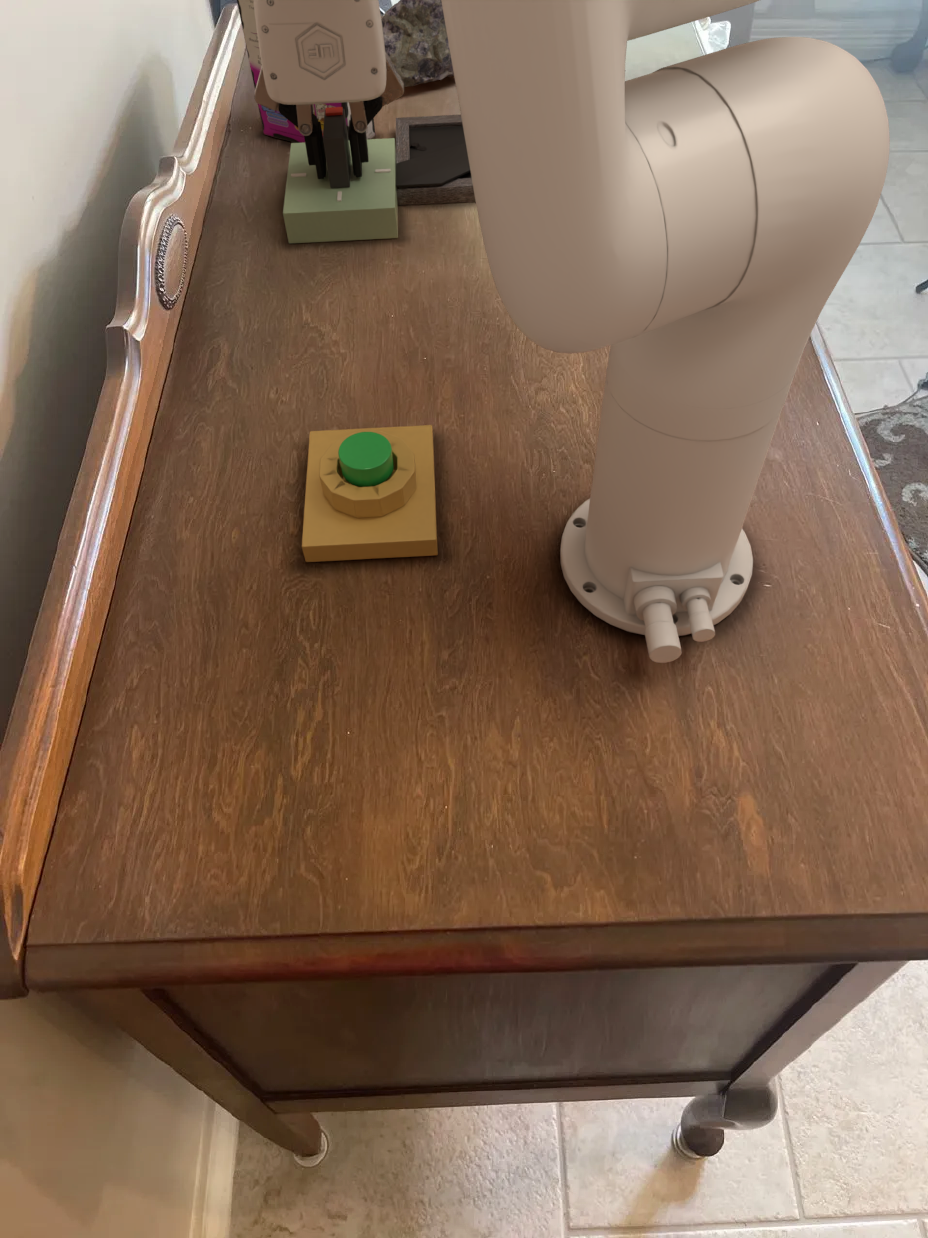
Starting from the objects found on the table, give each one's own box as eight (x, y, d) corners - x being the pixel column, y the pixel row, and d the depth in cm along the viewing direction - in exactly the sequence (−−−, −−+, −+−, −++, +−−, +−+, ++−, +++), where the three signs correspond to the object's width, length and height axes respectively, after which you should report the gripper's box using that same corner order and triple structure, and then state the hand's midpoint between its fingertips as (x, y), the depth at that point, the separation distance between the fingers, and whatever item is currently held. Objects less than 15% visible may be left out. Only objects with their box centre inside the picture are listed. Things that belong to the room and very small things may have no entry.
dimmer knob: (350, 187, 84) (343, 133, 80) (330, 188, 84) (322, 135, 80) (350, 158, 86) (344, 105, 82) (331, 159, 86) (324, 106, 82)
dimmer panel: (398, 238, 84) (395, 205, 81) (288, 243, 84) (282, 211, 81) (397, 167, 91) (394, 135, 88) (296, 172, 91) (290, 140, 88)
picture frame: (397, 205, 87) (587, 195, 87) (396, 185, 85) (588, 175, 86) (397, 132, 95) (571, 124, 95) (395, 113, 93) (572, 104, 93)
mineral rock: (363, 100, 99) (351, -5, 91) (367, 54, 105) (356, -49, 97) (483, 96, 99) (482, -10, 90) (479, 49, 105) (478, -54, 97)
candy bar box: (378, 135, 95) (359, -51, 81) (352, 159, 92) (329, -30, 79) (288, 112, 98) (255, -71, 84) (261, 134, 95) (223, -51, 82)
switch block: (437, 555, 63) (435, 521, 60) (305, 562, 62) (296, 528, 60) (433, 441, 69) (430, 405, 66) (313, 447, 69) (305, 412, 66)
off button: (394, 486, 62) (391, 467, 61) (340, 488, 62) (337, 470, 61) (393, 448, 64) (391, 429, 63) (342, 451, 64) (338, 432, 63)
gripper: (195, -40, 67) (249, 197, 83) (415, -51, 68) (429, 187, 83) (205, -80, 72) (255, 153, 87) (413, -90, 72) (426, 144, 87)
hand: (340, 168), depth 85 cm, fingers closed
